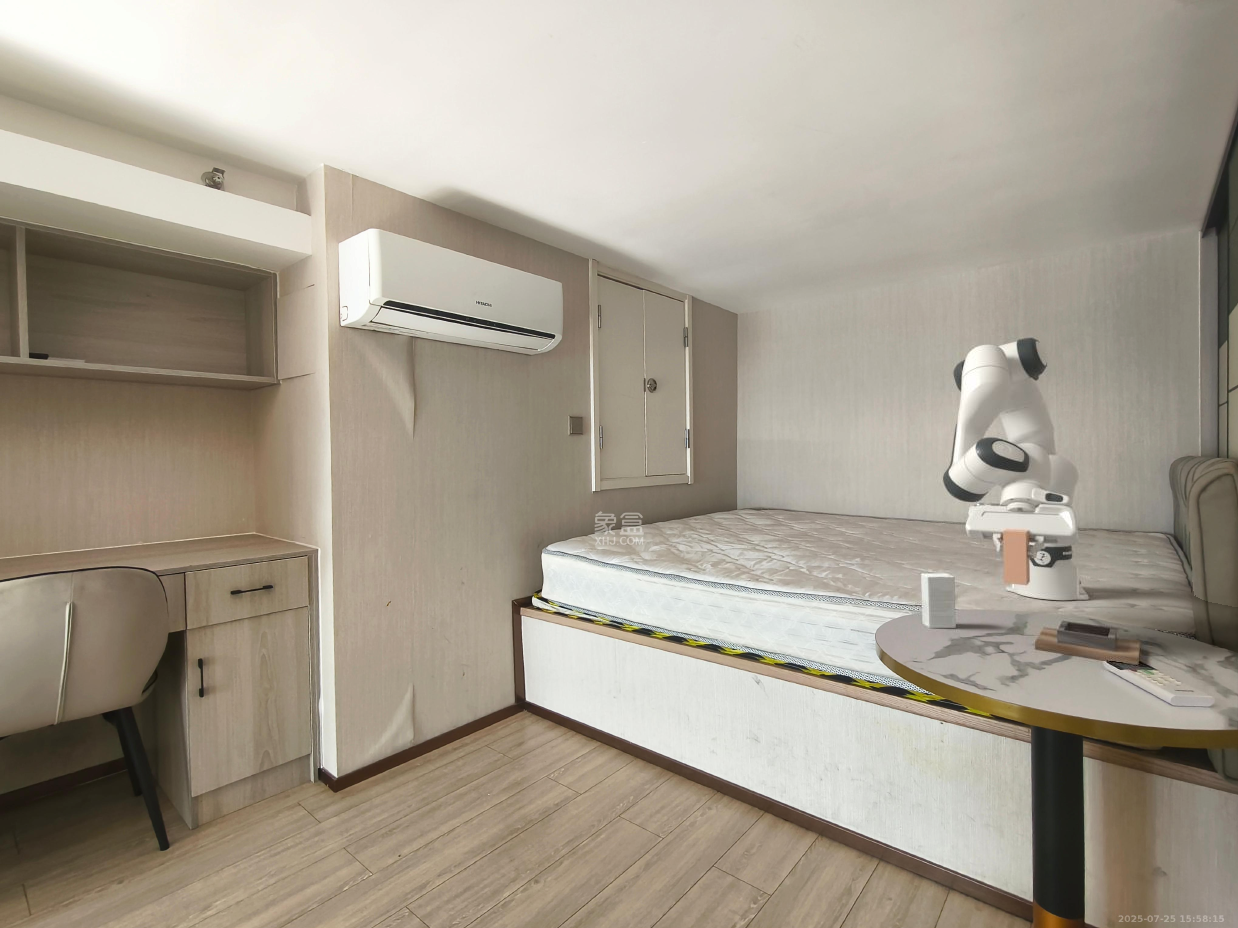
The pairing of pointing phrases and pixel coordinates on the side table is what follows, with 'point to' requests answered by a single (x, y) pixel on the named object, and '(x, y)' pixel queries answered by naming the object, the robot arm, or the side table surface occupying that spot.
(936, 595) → the skincare box
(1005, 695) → the side table surface
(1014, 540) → the peg
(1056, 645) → the socket board
